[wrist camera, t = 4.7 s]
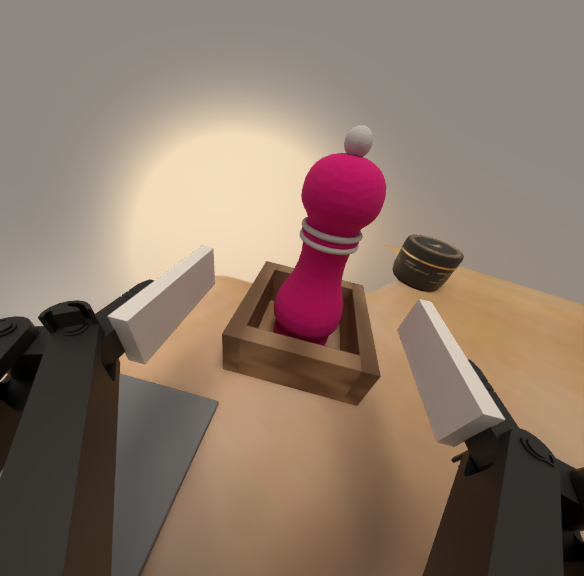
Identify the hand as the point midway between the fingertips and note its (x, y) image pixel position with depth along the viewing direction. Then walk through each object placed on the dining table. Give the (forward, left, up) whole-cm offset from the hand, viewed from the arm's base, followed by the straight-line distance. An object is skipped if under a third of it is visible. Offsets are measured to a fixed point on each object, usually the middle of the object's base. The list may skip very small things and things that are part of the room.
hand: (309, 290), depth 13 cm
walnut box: (-1, -6, -11) cm, 12 cm away
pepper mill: (-1, -6, -11) cm, 13 cm away
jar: (-22, -29, -11) cm, 38 cm away
